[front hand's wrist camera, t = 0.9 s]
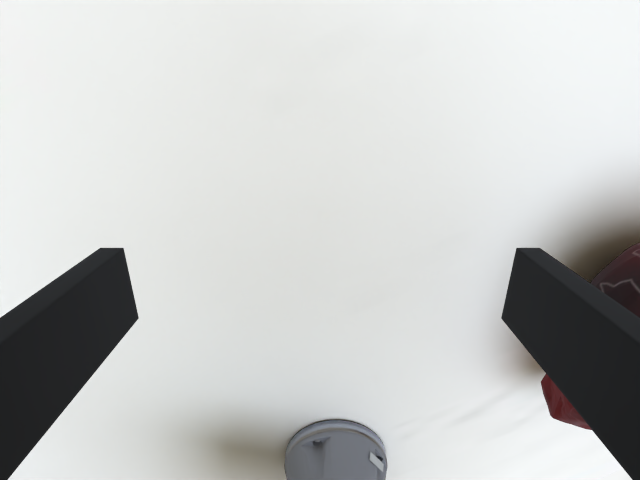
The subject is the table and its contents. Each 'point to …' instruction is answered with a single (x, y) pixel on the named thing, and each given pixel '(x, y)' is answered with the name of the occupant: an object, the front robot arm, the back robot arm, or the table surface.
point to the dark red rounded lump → (625, 288)
